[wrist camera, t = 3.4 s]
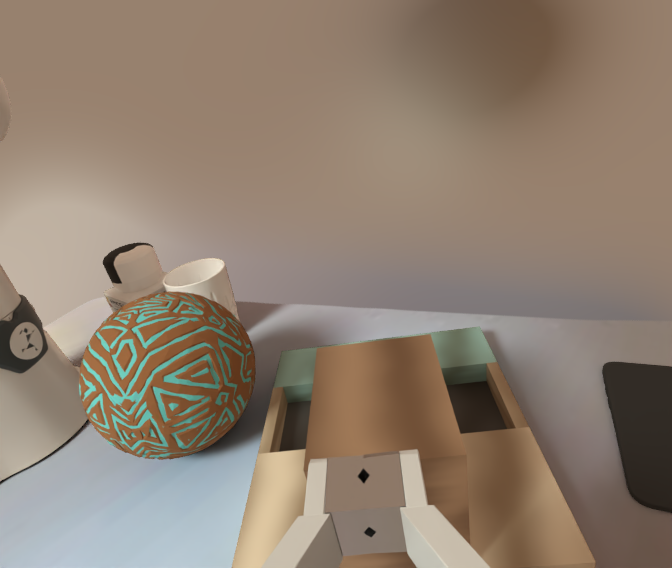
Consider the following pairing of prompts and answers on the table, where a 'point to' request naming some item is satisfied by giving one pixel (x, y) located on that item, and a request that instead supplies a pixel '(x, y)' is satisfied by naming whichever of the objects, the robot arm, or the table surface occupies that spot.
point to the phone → (643, 428)
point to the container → (133, 274)
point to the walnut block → (390, 422)
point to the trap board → (482, 463)
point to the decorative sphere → (167, 375)
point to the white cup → (203, 281)
